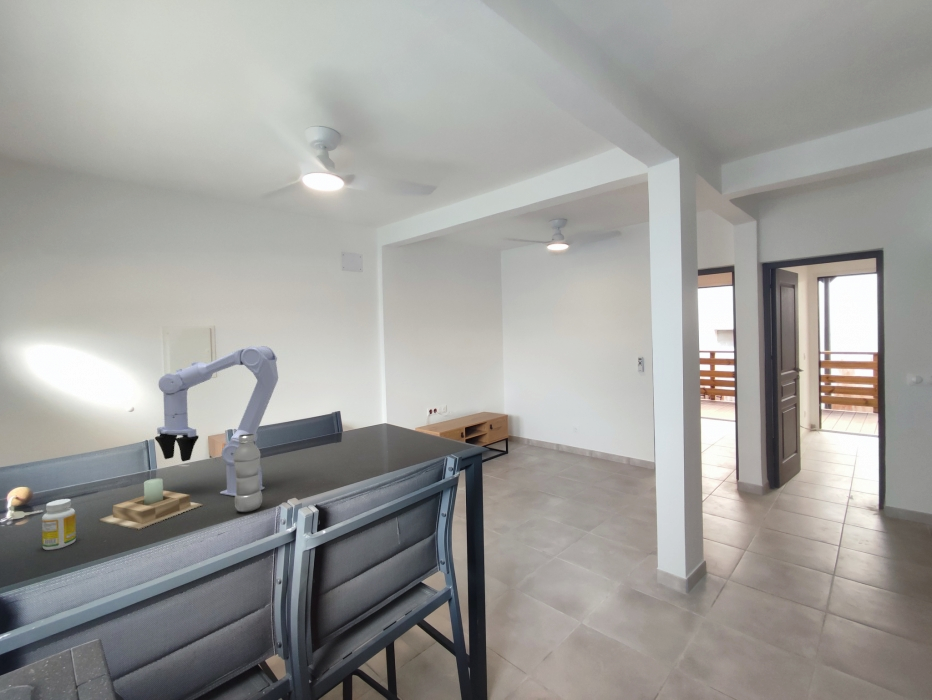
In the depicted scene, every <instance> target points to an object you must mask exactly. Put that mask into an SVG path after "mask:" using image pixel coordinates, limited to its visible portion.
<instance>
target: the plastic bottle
mask: <svg viewBox="0 0 932 700" xmlns="http://www.w3.org/2000/svg"><path fill="white" fill-rule="evenodd" d="M254 441H255V439H254V434H243V435H239V441H238V443H240V445H239V447H238V448H237V449H236V451H235V453H234V455H233V461H234V465H235V470H236V477H237V478H236V480H237V484H236V495H235V496H234V507H235V509H236V510H237V511H238V513H239V512H240V513H248V512H252V511H254V510H257V509H259V508H260V507H261V505H263V504H262V503H263V494H262V490H260V483H259V465H261V464H260V463H261V451H260V449H259V448H258V446H257V444H256V445H255V444H254Z"/></svg>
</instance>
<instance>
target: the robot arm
mask: <svg viewBox="0 0 932 700" xmlns="http://www.w3.org/2000/svg"><path fill="white" fill-rule="evenodd" d="M277 361H278V357H277V355H276V354H275V352H274V351H273V349H272V348H270V347H268V346H264V345H263V346H252V345H251V346H247V347H246V348H241V349H237V350H236V351H232V352H231V353H228V354H225V355H224V356H222V357H220V358H217V359H215V360H213V361H210V362H209V363H206V362H203V361H201V362H199V361H194V362H192V363H191V365H190V366H188V367H185V368H183V369H182V368H178V369H177V370H175V371H176V372H175V373H165V374H164V375H163V376H162V377H160V379H159V380H158V388H159V390H160V391H161V392H163V414H164V416H163V417H164V419H163V420H164V421H163V422H164V426H160V427H157V429H156V430H157V432H156V433H157V436H155V437H154V439H155V441H156V442H157V443H158V445H159V447H160V449H161V452H162V455H163V458H164V460H168V459H173V458H174V456H175V447H176V446H175V445H176V443H177V446H178V447H179V452H180V454H179V455H180V459H181V462H186V461H187V462H188V461H190V460H191V457H192V455H193V454H192V453H193V450H194V447H195V444H196V443H197V441H198V440H199V435H197V429H196V428H192V427H189V421H188V420H189V419H188V417H189V416H188V390H189V389H190V388H193V387H195V386H197V385H200V384H201V383H205V382H207V381H209V380H211V379H212V376H213V374H214V373H217V372H220V371H223V370H225V369H228V368H231V367H234V366H237V365H238V366H243V365H244V366H245V367H246V368H247V369H248V370H249V371H250V372H251V373H253V375H254V377H255V379H256V380H257V381H256V383H255V387H254V389H253V392H252V393H251V396H250V399H249V401H248V404H247V406H246V408H245V410H244V413H243V415H242V418H241V421H240V423H239V425H238V427H237V430H236V431H235V432H234V433H233V434H232V436H231V437H230V440H229V441H228V442H227V444H226V445H224V446H223V448H222V450H221V458H222V459H223V461H224V463H226V464H225V467H226V468H225V469H226V489H225V490H222V491H220V492H219V494H221V495H226V496H232V497H233V496H234V497H235V495H236V484H237V480H236V478H237V477H236V470H235V465H234V461H233V455H234V453H235V451H236V449H237V448H238V447H239V445H240V443H238V441H239V435H243V434H254V439H255V441H254V444H255V445H256V446H257V439H258V436H259V435H258V433H257V432H258V429H259V427H260V424H261V423H262V419H263V418H264V415H265V413H266V410H267V407H268V404H269V402H270V400H271V398H272V395H273V393H274V390H275V388H276V386H277V383H278V381H279V372H278V367H277V365H278V364H277ZM178 436H180V437H178ZM262 469H263V468H262V466H261V464H259V483H260V490H261V491H262V490H265V486H263V471H262Z"/></svg>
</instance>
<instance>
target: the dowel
mask: <svg viewBox="0 0 932 700" xmlns="http://www.w3.org/2000/svg"><path fill="white" fill-rule="evenodd" d="M163 481H164V480H163V478H159V477H158V478H151V479H148V480H145V481H144V482H143V496H144V505H146V506H148V505H151V504H154V503H157V502H160V501H163V491H164V485H163V483H164V482H163Z"/></svg>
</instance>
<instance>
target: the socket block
mask: <svg viewBox="0 0 932 700" xmlns="http://www.w3.org/2000/svg"><path fill="white" fill-rule="evenodd" d="M191 500H192V499H191V494H185V493H180V492H174V491H168V490H163V501H160V502H157V503H154V504H151V505H148V506H146V505H144V495H142V496H139V497H135V498H133V499H132V498H131V499H129V500H126V501H123V502H120V503H117V504H113V505H112V514H110V515H108V516H105V517H102V518H99V520H98V521H99V522H103V523H107V524H110V525H111V524H112V525H116V526H120V527H125V528H129V529H133V530H137V529H138V531H140V530H143V529H145V527H146V528H148V527H151V526H153V525H152V524H154V525H156V524H159V523H162V522H164V521H166V520H165V519H167V520H169V519H171V517H172V518H174V517H173V516H175V517H177V516H179V515H178V514H180V515H181V513H183V512H185V513H187V512H186V511H188V512H190V511H192V510H191V509H193V510H195V509H194V508H196V509H198V508H201V507H203V505H204V504H202V503H197V502H192V501H191ZM200 506H201V507H200ZM197 507H198V508H197ZM189 510H190V511H189ZM183 514H184V513H183ZM176 515H177V516H176ZM168 518H169V519H168ZM163 520H164V521H163ZM158 522H159V523H158ZM155 523H156V524H155ZM150 525H151V526H150ZM147 526H148V527H147ZM142 528H143V529H142Z"/></svg>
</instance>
